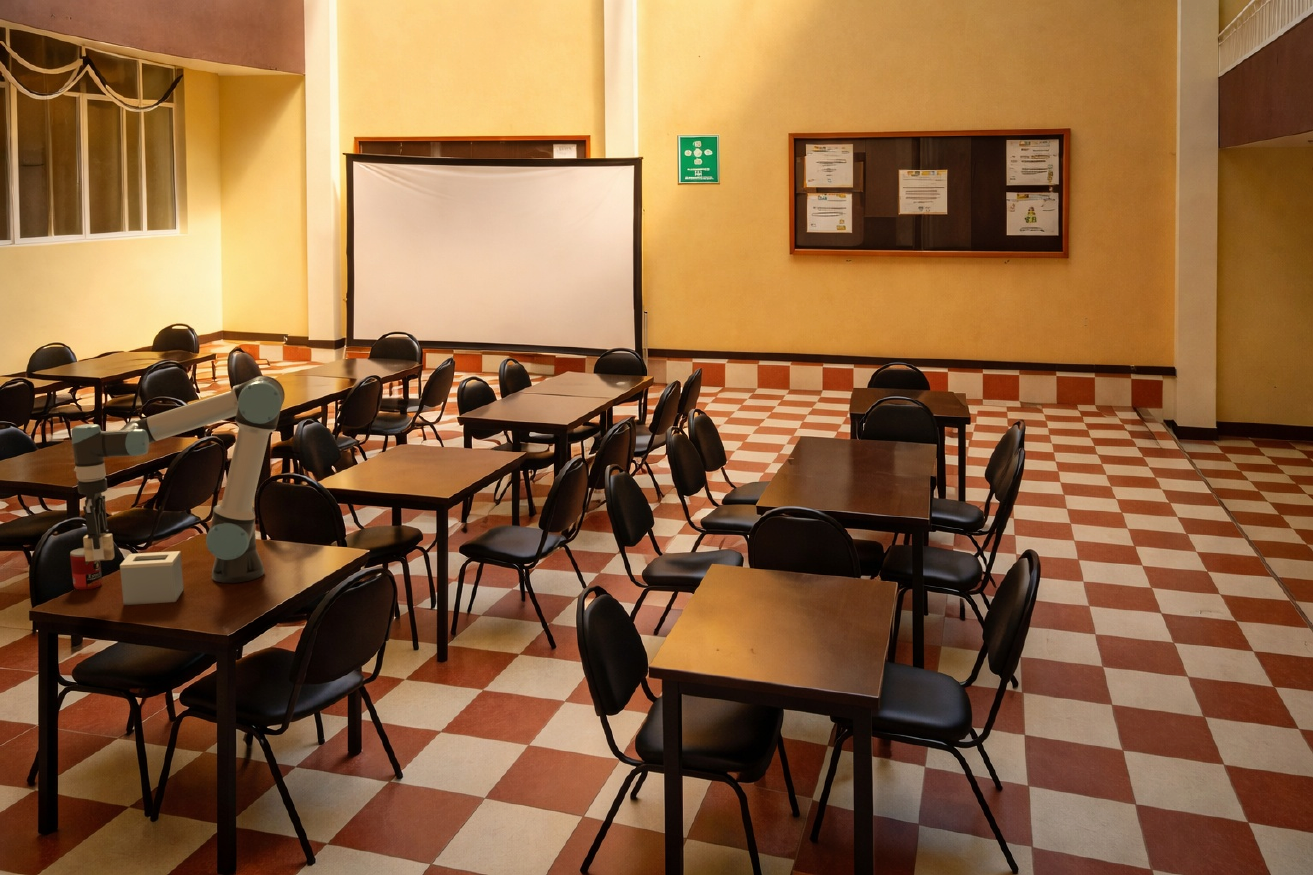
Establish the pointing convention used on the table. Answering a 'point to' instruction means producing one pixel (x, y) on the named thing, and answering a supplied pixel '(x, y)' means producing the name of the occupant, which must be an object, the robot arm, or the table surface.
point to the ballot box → (151, 577)
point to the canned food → (85, 571)
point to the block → (107, 547)
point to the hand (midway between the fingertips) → (101, 557)
